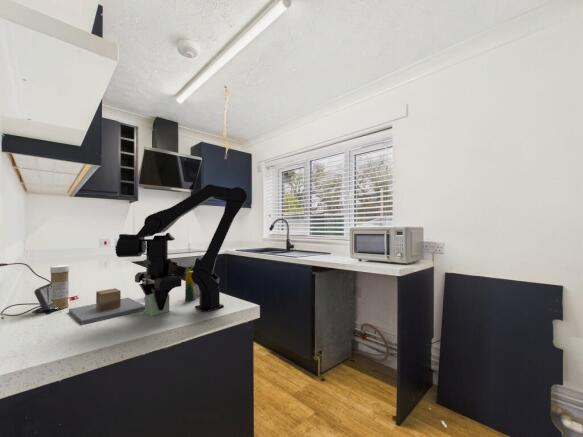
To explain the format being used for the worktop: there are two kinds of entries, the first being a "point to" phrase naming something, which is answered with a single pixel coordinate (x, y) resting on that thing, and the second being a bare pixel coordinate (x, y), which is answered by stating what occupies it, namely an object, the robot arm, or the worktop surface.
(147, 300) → the sage brick
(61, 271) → the sprinkles bottle
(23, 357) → the worktop surface
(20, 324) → the worktop surface
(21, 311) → the worktop surface
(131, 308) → the baseplate
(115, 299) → the brown wooden cube
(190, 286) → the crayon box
